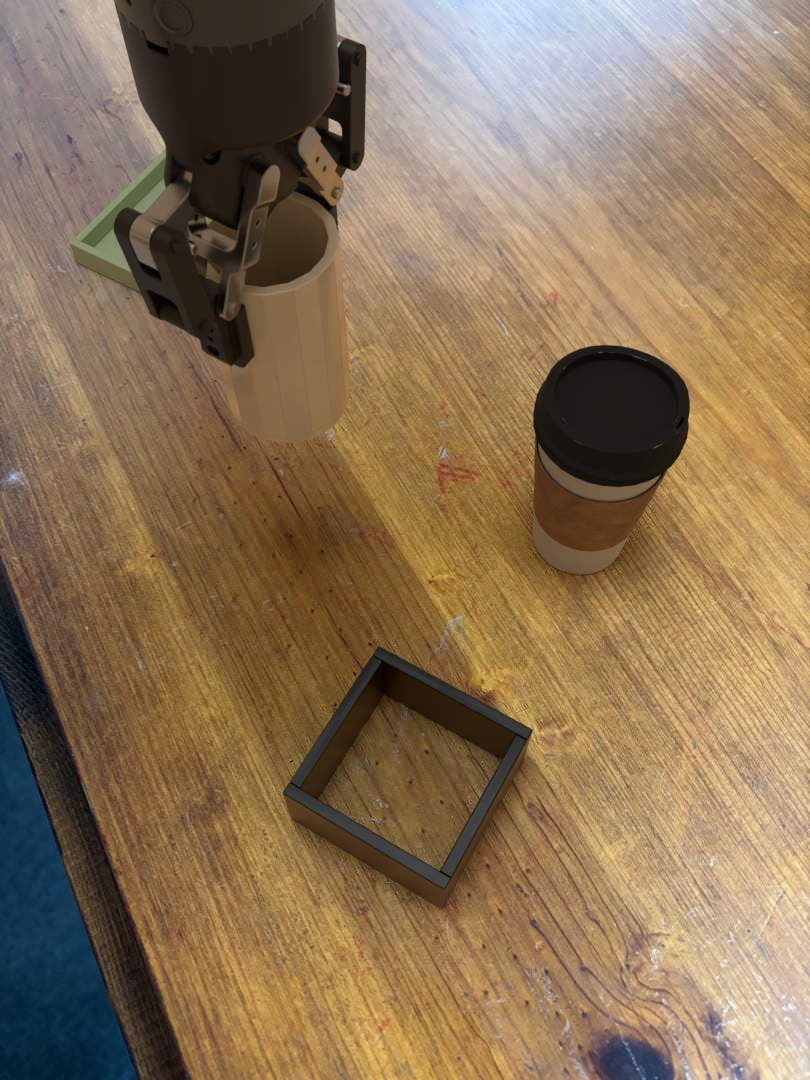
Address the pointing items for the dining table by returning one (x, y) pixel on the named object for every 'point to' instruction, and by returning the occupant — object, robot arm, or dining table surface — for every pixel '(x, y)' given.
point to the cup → (292, 327)
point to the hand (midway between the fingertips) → (274, 306)
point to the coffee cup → (602, 451)
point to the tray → (99, 239)
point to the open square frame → (438, 705)
